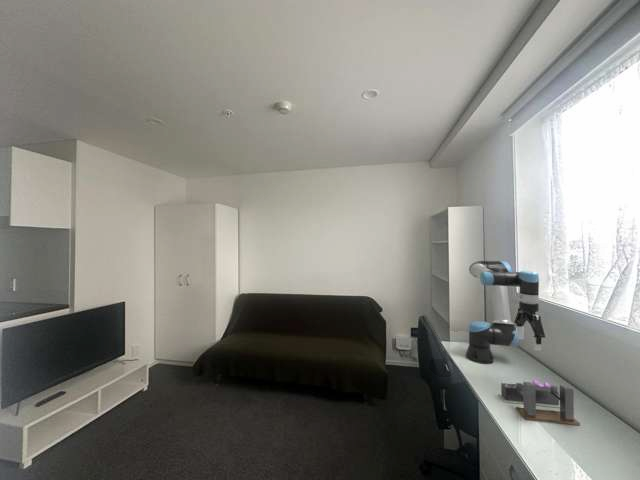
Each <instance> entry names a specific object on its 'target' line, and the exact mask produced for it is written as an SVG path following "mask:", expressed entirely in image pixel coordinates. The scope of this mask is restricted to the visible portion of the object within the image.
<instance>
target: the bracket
mask: <svg viewBox="0 0 640 480" xmlns="http://www.w3.org/2000/svg"><path fill="white" fill-rule="evenodd" d="M531 383H532V384H534V385H535V386H542V387H550V384H549V383H548V382H543V384H541V383H539V381H538V380H535V379H533V380H532V382H531Z"/></svg>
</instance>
